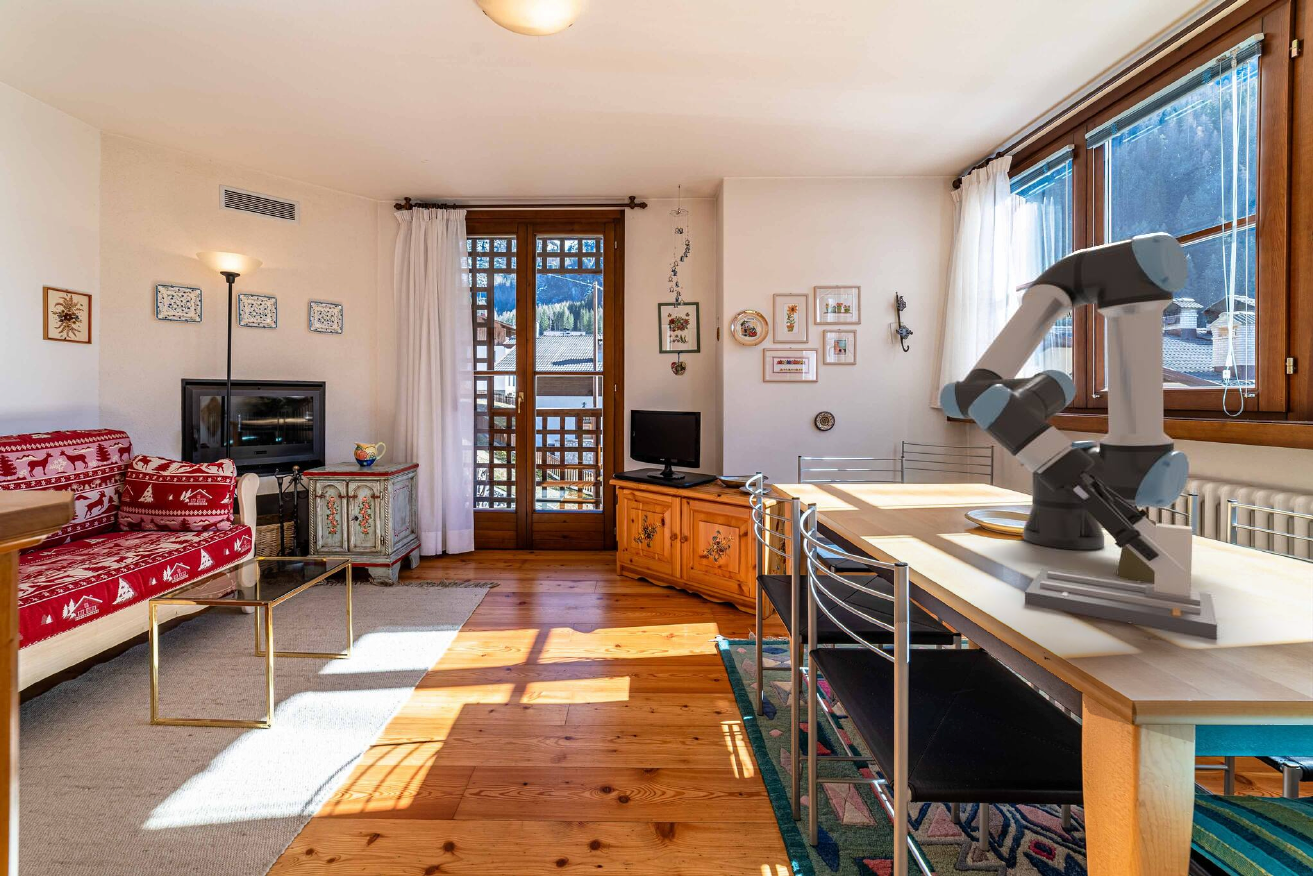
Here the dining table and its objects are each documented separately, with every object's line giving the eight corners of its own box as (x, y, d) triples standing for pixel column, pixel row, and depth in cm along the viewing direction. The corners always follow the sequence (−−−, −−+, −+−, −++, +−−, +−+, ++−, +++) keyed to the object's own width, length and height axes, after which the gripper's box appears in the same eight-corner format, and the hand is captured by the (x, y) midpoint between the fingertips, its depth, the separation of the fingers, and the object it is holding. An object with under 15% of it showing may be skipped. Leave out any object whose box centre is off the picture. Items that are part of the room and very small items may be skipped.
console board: (1041, 579, 102) (1041, 564, 102) (1210, 606, 88) (1211, 588, 87) (1024, 603, 91) (1024, 586, 91) (1216, 639, 76) (1217, 619, 76)
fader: (1146, 591, 88) (1147, 521, 88) (1198, 599, 84) (1201, 526, 84) (1144, 599, 85) (1146, 526, 84) (1200, 608, 81) (1202, 532, 80)
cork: (1168, 583, 99) (1170, 521, 98) (1129, 581, 100) (1130, 521, 100) (1146, 573, 105) (1147, 515, 104) (1109, 572, 106) (1110, 514, 105)
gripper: (1046, 467, 104) (1152, 560, 95) (1022, 484, 86) (1150, 601, 77) (1082, 439, 100) (1196, 533, 91) (1065, 451, 82) (1205, 570, 73)
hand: (1175, 565), depth 84 cm, fingers open, 13 cm apart
